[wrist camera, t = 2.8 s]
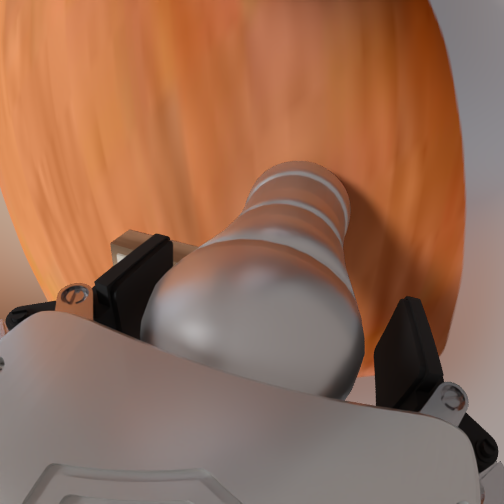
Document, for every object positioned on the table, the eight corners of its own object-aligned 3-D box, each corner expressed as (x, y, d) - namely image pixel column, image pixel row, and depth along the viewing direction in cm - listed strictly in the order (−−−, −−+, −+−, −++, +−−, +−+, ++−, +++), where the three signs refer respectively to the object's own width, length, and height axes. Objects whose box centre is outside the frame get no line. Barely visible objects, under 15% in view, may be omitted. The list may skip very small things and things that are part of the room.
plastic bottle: (349, 237, 21) (343, 553, 4) (262, 241, 23) (127, 504, 6) (345, 152, 18) (425, 522, 1) (249, 159, 20) (-17, 381, 3)
